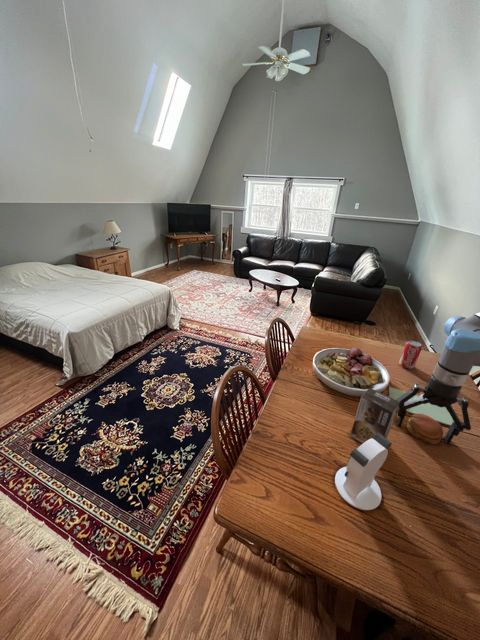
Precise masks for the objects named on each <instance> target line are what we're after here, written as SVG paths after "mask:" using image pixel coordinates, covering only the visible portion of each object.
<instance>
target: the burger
mask: <svg viewBox="0 0 480 640" xmlns="http://www.w3.org/2000/svg"><path fill="white" fill-rule="evenodd" d="M406 429H407V431H408V432H409V433H410V434H411V435H412V436H413V437H415V438H417V439H419V440H421V441H423V442H424V443H428V444H431V445H437V444H439V443H440V442H441V440H442V437H443V436H444V429H443V427H442V425H441V423H439V422H437V421H436V420H434V419H433V418H431V417H429V416H427V415H424V414H415V415H414V414H412V415H411V416H410V417H409V418H408V419H407V425H406Z"/></svg>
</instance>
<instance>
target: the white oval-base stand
mask: <svg viewBox="0 0 480 640" xmlns="http://www.w3.org/2000/svg"><path fill="white" fill-rule="evenodd" d="M392 444H393V442H391V440H389V439H388V438H387V439H386V438H385V437H383V436H382V435H381V434H379V433H377V434H376V435H375V436H374V438H372V439H369V440H367V441H366V442H364V443H361V444H360V445H359V446H358V447H357V448H353V449H352V450H351V452H350V454H349V456H350V457H349V458H348V460H347V463H346V464H347V465H346V466H343V467H341V468H340V469H338V470H337V471H336V473H335V477H334V484H335V488H336V491H337V492H338V494H339V495H340V497H341V499H343V500H344V502H346V503H348V504H349V505H350V506H352V507H354V508H356V509H359V510H362V511H372V510H375V509H376V508H378V507H379V506H380V504H381V503H382V502H381V501H382V490H381V488H380V486H379V484H378V482H377V481H376V480H375V478H376V475H377V473H378V471H379V470H381V468H382V467H383V465H384V463H385V462H386V460H387V458H388V454H389V449H390V448H391V447H392Z"/></svg>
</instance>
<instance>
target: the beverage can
mask: <svg viewBox="0 0 480 640" xmlns="http://www.w3.org/2000/svg"><path fill="white" fill-rule="evenodd" d="M422 348H423V347H422V343H420V342H419V341H416V340H408V341H407V342H406V343H405V345H404V348H403V350H402V353H401V355H400V359H399V361H398V363H399V365H400V366H401V367H403V368H405V369H414V368H415V367H416V365H417V362H418V359H419V356H420V354H421V352H422Z"/></svg>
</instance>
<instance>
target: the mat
mask: <svg viewBox="0 0 480 640" xmlns="http://www.w3.org/2000/svg"><path fill="white" fill-rule="evenodd" d="M406 392H407V391H406V390H402V389H398V388H395V387H391V386H389V387H388V396H389V397H391V398H393V399H395V400H396V399H397V398H399V397H400V396H402V395H403V394H404V393H406ZM419 396H420V395H418V394H416V395H415V396H414V397H412V398H411V399H413V398H416V397H419ZM411 399H409V400H411ZM425 399H426V398H425ZM397 410H399V407H398V409H397ZM407 413H409V414H412V415H415V414H424V415H427V416H429V417H431V418H433V419H434V420H436V421H437V422H438V423H439V424H443V425H445V426H448V427H450V426H451V424H452V422H454V420H453V419H452V417H451V415H450V414H449V412H448V411H447V409H446V407H442V408H441V407H438V406H436V405H431V404H430V403H426V404H421V405H418V406H415V407H412V408H409V409H407ZM454 423H455V422H454Z"/></svg>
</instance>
